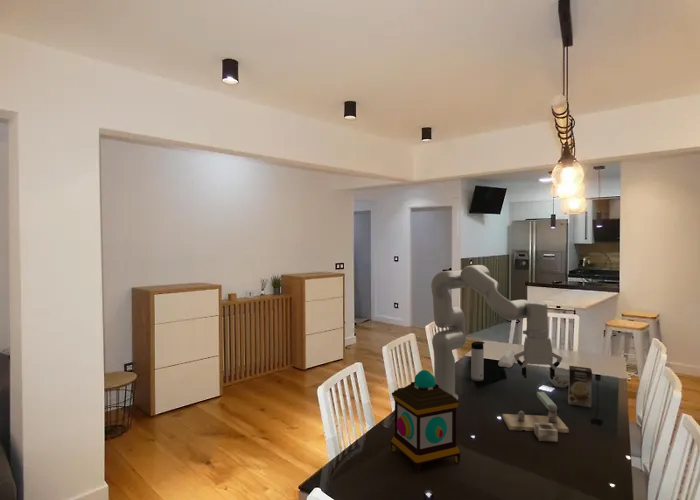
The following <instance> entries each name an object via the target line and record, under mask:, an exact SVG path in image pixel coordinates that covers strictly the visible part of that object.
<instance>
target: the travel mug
mask: <svg viewBox="0 0 700 500" xmlns="http://www.w3.org/2000/svg"><path fill="white" fill-rule="evenodd" d="M484 344H485V342H484V341H473V342H471V347H470V348H471V352H470V353H471V355H470V356H471V357H470V359H471V361H470V372H471V373H470V376H471V377H470V379H471V380H472V381H474V382H481V381H484V364H485V363H484V360H485V359H484V357H485V356H484V354H485V353H484V349H485V348H484Z"/></svg>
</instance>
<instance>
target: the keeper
mask: <svg viewBox="0 0 700 500" xmlns="http://www.w3.org/2000/svg"><path fill="white" fill-rule="evenodd" d="M536 397H537V398H538V399H539V400H540V401H541V403H542V404H543V405H544V406H545V408H546V409H547V410H548V412H549V411H552V412H557V413H558V406H557V405H556V403H554V401H553V400H552V399H551V398H550V397H549V396H548V394H546V393H545V392H544V391H536Z"/></svg>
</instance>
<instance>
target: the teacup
mask: <svg viewBox="0 0 700 500" xmlns="http://www.w3.org/2000/svg"><path fill="white" fill-rule="evenodd" d="M550 367H551V366H549V367H547V368H546V374H547V378H548V381H550V383H551V384H552V386H553V387H556V388H562V389H565V388H567V387H568V386H569V368H564V367H560V366H559V367H558V366H557V367H556V369H555V377H553V380H552V379H551V378H550Z"/></svg>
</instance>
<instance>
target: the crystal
mask: <svg viewBox="0 0 700 500" xmlns="http://www.w3.org/2000/svg"><path fill="white" fill-rule="evenodd" d="M514 355H516V353H515V351H514V349H512V348H511V347H509V348H507V349H506V350H505V352H504V353H503V354H502V356H501V358H500V359H499V361H498V364H497V366H499V367H502V368H506V369H507V368H509V369H510V368H512V366H513V365H514V363H515V362H516V359H515V357H514Z"/></svg>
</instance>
